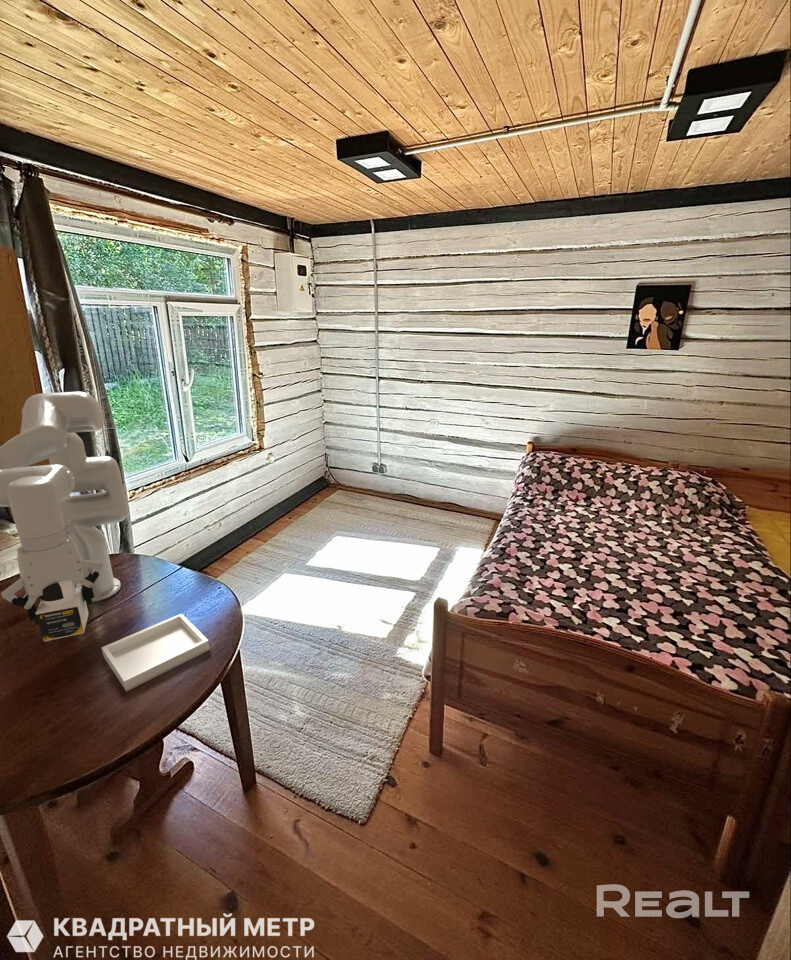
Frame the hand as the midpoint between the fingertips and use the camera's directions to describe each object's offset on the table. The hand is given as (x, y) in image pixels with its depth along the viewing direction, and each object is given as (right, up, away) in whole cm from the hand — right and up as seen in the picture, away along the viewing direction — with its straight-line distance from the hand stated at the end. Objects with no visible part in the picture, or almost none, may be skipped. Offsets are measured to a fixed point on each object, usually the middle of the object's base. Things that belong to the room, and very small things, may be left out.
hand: (63, 611), depth 99 cm
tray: (+9, -17, +21) cm, 29 cm away
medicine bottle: (0, -4, +1) cm, 4 cm away
